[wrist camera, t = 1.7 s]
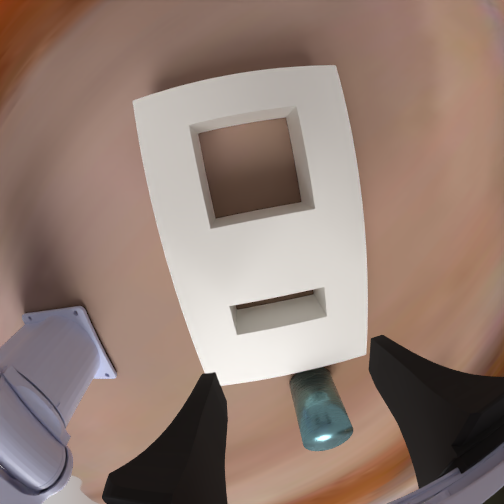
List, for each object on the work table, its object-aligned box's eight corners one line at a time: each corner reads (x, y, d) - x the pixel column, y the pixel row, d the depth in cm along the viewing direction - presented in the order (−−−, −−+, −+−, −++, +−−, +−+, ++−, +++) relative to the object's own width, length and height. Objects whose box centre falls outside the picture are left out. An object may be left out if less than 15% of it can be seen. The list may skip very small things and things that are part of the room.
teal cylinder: (291, 399, 24) (304, 455, 17) (287, 372, 23) (301, 431, 16) (330, 390, 24) (351, 442, 17) (330, 361, 23) (354, 417, 16)
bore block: (213, 359, 22) (210, 386, 19) (150, 112, 16) (132, 100, 13) (350, 330, 22) (366, 354, 18) (319, 81, 16) (335, 65, 13)
